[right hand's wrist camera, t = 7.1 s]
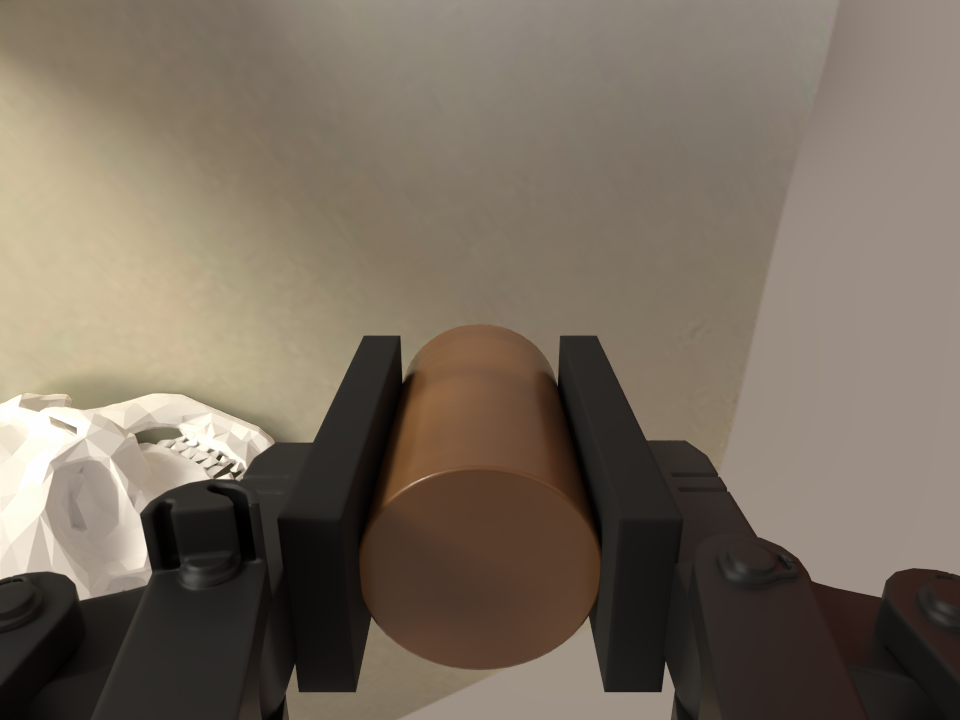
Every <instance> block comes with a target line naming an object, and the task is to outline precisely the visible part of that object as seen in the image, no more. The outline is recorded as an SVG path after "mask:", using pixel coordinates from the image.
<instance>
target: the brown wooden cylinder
mask: <svg viewBox="0 0 960 720" xmlns="http://www.w3.org/2000/svg"><path fill="white" fill-rule="evenodd" d="M359 565H360V579H361V591H362V598H363V601H364V603H365V605H366V607H367V609H368V611H369V613H370V615H371V616H372V617H373V619H374V620H375V622H376V623H377V625H378V626H379V627H380V628H381V629H382V630H383V631H384V632H385V633H386V635H388V636H389V637H390V638H391V639H392V640H393V641H395V642H396V643H397V644H398V645H400V646H401V647H403V648H404V649H406V650H407V651H409V652H411V653H413V654H415V655H417V656H419V657H421V658H423V659H426V660H428V661H431V662H434V663H437V664H440V665H444V666H448V667H453V668H460V669H469V670H491V669H500V668H507V667H512V666H516V665H519V664H523V663H526V662H529V661H531V660H534V659H537V658H539V657H541V656H543V655H545V654H547V653H549V652H551V651H552V650H554V649H555V648H557V647H558V646H560V645H561V644H563V643H564V642H565V641H566V640H568V639H569V638H570V637H571V636H572V635H573V634H574V633H575V632H576V631H577V630H578V629H579V628H580V627H581V626H582V625H583V623H584V622H585V620H586V619H587V617H588V616H589V614H590V613H591V611H592V609H593V607H594V605H595V603H596V601H597V598H598V595H599V584H600V571H601V544H600V540H599V537H598V533H597V529H596V526H595V522H594V518H593V515H592V511H591V507H590V504H589V500H588V496H587V493H586V489H585V485H584V482H583V478H582V474H581V471H580V467H579V463H578V460H577V456H576V452H575V448H574V445H573V441H572V437H571V434H570V430H569V426H568V423H567V419H566V415H565V412H564V408H563V404H562V401H561V397H560V393H559V390H558V386H557V382H556V379H555V376H554V373H553V370H552V368H551V366H550V364H549V362H548V361H547V359H546V358H545V356H544V355H543V353H542V352H541V351H540V350H539V349H538V348H537V347H536V346H535V345H534V344H533V343H531V342H530V341H529V340H528V339H526V338H525V337H523V336H521V335H520V334H518V333H515V332H513V331H511V330H508V329H505V328H502V327H498V326H493V325H481V324H478V325H467V326H462V327H457V328H454V329H451V330H448V331H446V332H444V333H442V334H440V335H438V336H437V337H435V338H433V339H432V340H430V341H429V342H428V343H427V344H426V345H425V346H423V347H422V348H421V350H420V351H419V352H418V353H417V354H416V355H415V357H414V358H413V360H412V361H411V363H410V365H409V367H408V369H407V371H406V374H405V377H404V381H403V384H402V388H401V392H400V395H399V399H398V403H397V407H396V410H395V414H394V418H393V421H392V425H391V429H390V433H389V436H388V440H387V444H386V447H385V451H384V455H383V459H382V462H381V466H380V470H379V473H378V477H377V481H376V485H375V488H374V492H373V496H372V499H371V503H370V507H369V511H368V514H367V518H366V522H365V525H364V529H363V533H362V537H361V540H360V544H359Z"/></svg>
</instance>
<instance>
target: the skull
mask: <svg viewBox="0 0 960 720" xmlns="http://www.w3.org/2000/svg"><path fill="white" fill-rule="evenodd" d="M71 405H72V400H71V398H70V397H69V396H68V395H67V394H52V395H45V396H44V395H38V394H31V393H24V394H22V395H19V396H17V397H15V398H13V399H11V400H9V401H7V402H5V403H2V404H0V580H1V579H4V578H7V577H12V576H14V575H19V574H23V573H32V572H45V571H49V572H54V573H59V574H63V575H66V576H67V577H68V578H69V579H70V580H72V581H73V582H74V583H75V584H76V588H77V592H78V596H79V599H80V600H85V599H90V598H95V597H99V596H104V595H109V594H114V593H118V592H123V591H127V590H131V589H135V588H138V587H142V586H145V585H147V584H148V582H149V579H150V577H151V575H152V570H151V565H150V560H149V556H148V551H147V546H146V542H145V537H144V532H143V528H142V523H141V518H140V513H141V512H142V511H143V509H144V508H145V507H146V506H147V505H148V504H149V502H150V501H152V500H153V499H155V498H157V497H158V496H160V495H161V494H163V493H165V492H166V491H168V490H171V489H173V488H176V487H179V486H182V485H184V484H187V483H191V482H196V481H202V480H208V479H214V477H213V476H214V475H215V474H217V473H218V472H219V471H220V470H222V469H223V468H225V467H226V466H227V465H229V464H230V463H233V464H234V466H233V467H232V468H231V469H230V471H231V472H237V471H239V470H241V472H242V473H241V474H240V475H239V476H238V477H236V478H235V479H236V480H238V481H240V480H241V479H243V475H244V473H245V472H246V470H247V468H248V467H249V465H250V464H251V462H252V460H253V459H254V458H255V457H256V456H257V455H259V454H260V453H262V452H263V451H265V450H266V449H267V448H269V447H270V446H272V445H273V444H274V443H275V442H274V440H273V439H272V438H271V437H270V436H269V435H268V434H267V433H265V432H264V431H263V430H262V429H261V428H259V427H258V426H255V425H253V424H250V423H248V422H246V421H243V420H241V419H238V418H236V417H233V416H231V415H229V414H226V413H224V412H222V411H219V410H217V409H214V408H212V407H210V406H207V405H205V404H203V403H200V402H198V401H196V400H193V399H191V398H189V397H186V396H184V395H181V394H166V393H160V394H150V395H146V396H143V397H139V398H136V399H132V400H129V401H126V402H122V403H118V404H112V405H109V406H106V407H101V408H95V409H88V410H80V409H75V408H71ZM160 428H175V429H179V430H180V432H181V433H182V434H183V436H182V437H179V438H176V439H173V440H160V441H159V442H158V443H157V444H156V445H155V444H151V443H147V442H146V443H141V444H138V442H137V439H136V436H135V435H134V434H136V433H138V432H140V431H145V430H152V429H160ZM186 440H189V441H188V442H185V441H186ZM184 442H185V443H184ZM196 445H198V447H196ZM207 452H209V453H207ZM218 455H221V456H222V458H221V460H220V461H218V460H217V459H216V458H217V457H218ZM202 460H205V461H203V462H202V463H200V464H198V463H196V462H197V461H202ZM218 462H219V463H218ZM216 463H218V466H213V467H211V468H210V469H209V470H208V471H207V470H206V469H207V468H208V467H210V466H212V465H214V464H216ZM216 479H233V480H234V478H233V476H232V473H228V474H226V475H223V476H221V477H219V478H216Z"/></svg>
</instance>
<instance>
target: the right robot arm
mask: <svg viewBox="0 0 960 720" xmlns="http://www.w3.org/2000/svg"><path fill="white" fill-rule="evenodd" d="M401 388H402V362H401V340H400V336H364V337H363V339H362V341H361V343H360V345H359V347H358V349H357V351H356V353H355V356H354V358H353V360H352V362H351V364H350V366H349V368H348V370H347V372H346V375H345V377H344V379H343V381H342V383H341V385H340V387H339V389H338V391H337V393H336V396H335V398H334V400H333V402H332V404H331V406H330V408H329V410H328V412H327V415H326V417H325V419H324V421H323V423H322V425H321V427H320V429H319V431H318V433H317V436H316V438H315V440H314V442H313V443H274V444H273V445H272V446H270V447H269V448H267V449H266V450H265V451H263V452H262V453H260V454H259V455H257V456H256V457H255V458H254V459H253V460H252V462H251V464H250V465H249V467H248V468H247V470H246V472H245V473H244V475H243V479H241V480H240V481H236V480H233V479H208V480H202V481H196V482H191V483H187V484H184V485H182V486H179V487H176V488H173V489H171V490H168V491H166V492H165V493H163V494H161V495H160V496H158V497H157V498H155V499H153V500H152V501H150V502H149V504H148V505H147V506H146V507H145V508H144V509H143V511H142V512H141V513H140V518H141V523H142V528H143V532H144V537H145V542H146V546H147V551H148V556H149V560H150V565H151V570H152V575H151V577H150V579H149V582H148V584H147V585H145V586H142V587H138V588H135V589H131V590H127V591H123V592H118V593H114V594H109V595H104V596H99V597H95V598H90V599H85V600H80V599H79V596H78V592H77V588H76V584H75V583H74V582H73V581H72V580H70V579H69V578H68V577H67V576H66V575H63V574H59V573H54V572H49V571H45V572H32V573H23V574H19V575H14V576H12V577H7V578H4V579H1V580H0V720H289V716H288V709H287V701H286V694H285V693H286V690H287V687H288V683H289V680H290V677H291V674H292V671H293V668H294V665H296V673H297V680H298V688H299V692H356V689H357V684H358V679H359V674H360V669H361V665H362V660H363V655H364V650H365V645H366V640H367V636H368V631H369V626H370V621H371V615H370V613H369V611H368V609H367V607H366V605H365V603H364V601H363V598H362V591H361V579H360V565H359V544H360V540H361V537H362V533H363V529H364V525H365V522H366V518H367V514H368V511H369V507H370V503H371V499H372V496H373V492H374V488H375V485H376V481H377V477H378V473H379V470H380V466H381V462H382V459H383V455H384V451H385V447H386V444H387V440H388V436H389V433H390V429H391V425H392V421H393V418H394V414H395V410H396V407H397V403H398V399H399V395H400V392H401ZM558 390H559V393H560V397H561V401H562V404H563V408H564V412H565V415H566V419H567V423H568V426H569V430H570V434H571V437H572V441H573V445H574V448H575V452H576V456H577V460H578V463H579V467H580V471H581V474H582V478H583V482H584V485H585V489H586V493H587V496H588V500H589V504H590V507H591V511H592V515H593V518H594V522H595V526H596V529H597V533H598V537H599V540H600V544H601V571H600V584H599V595H598V598H597V601H596V603H595V605H594V607H593V609H592V611H591V613H590V614H589V619H590V624H591V628H592V633H593V638H594V643H595V648H596V653H597V657H598V662H599V667H600V672H601V677H602V682H603V686H604V691H605V692H662V684H663V676H664V669H665V661H666V663H667V666H668V669H669V672H670V675H671V678H672V681H673V684H674V688H675V694H674V701H673V709H672V716H671V720H960V576H958V575H955V574H949V573H948V572H943V571H938V570H929V569H916V568H913V569H908V570H903V571H899V572H895V573H894V574H893V575H892V576H891V577H890V578H889V579H888V580H886V583H885V587H884V590H883V594H882V598H880V597H875V596H870V595H866V594H861V593H856V592H851V591H847V590H842V589H837V588H833V587H829V586H826V585H822V584H818V583H815V582H813V581H811V578H810V576H809V574H808V572H807V570H806V569H805V568H804V566H803V565H802V563H801V562H800V561H799V559H798V558H797V557H795V556H794V555H793V554H791V553H790V552H788V551H787V550H786V549H784V548H783V547H781V546H779V545H777V544H774V543H772V542H769V541H767V540H765V539H762V538H759V537H757V536H756V534H755V532H754V531H753V529H752V528H751V526H750V524H749V523H748V521H747V520H746V518H745V516H744V515H743V513H742V512H741V510H740V508H739V507H738V505H737V503H736V502H735V500H734V499H733V497H732V495H731V494H730V492H727V487H726V486H725V484H724V482H723V481H722V479H721V478H720V477H718V473H717V471H716V470H715V468H714V466H713V465H712V463H711V462H710V460H709V458H708V457H707V455H705V454H704V453H702V452H701V451H699V450H698V449H697V448H695V447H694V446H692V445H691V444H689V443H688V442H687V441H646V439H645V437H644V435H643V432H642V430H641V428H640V426H639V424H638V422H637V420H636V418H635V416H634V413H633V411H632V409H631V407H630V405H629V403H628V401H627V399H626V397H625V395H624V392H623V390H622V388H621V386H620V384H619V382H618V380H617V378H616V376H615V373H614V371H613V369H612V367H611V365H610V363H609V361H608V359H607V357H606V355H605V352H604V350H603V348H602V346H601V344H600V342H599V340H598V338H597V336H560V350H559V372H558Z"/></svg>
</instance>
